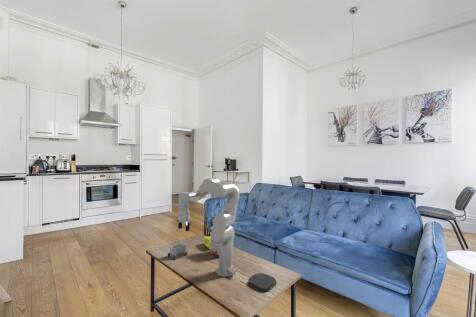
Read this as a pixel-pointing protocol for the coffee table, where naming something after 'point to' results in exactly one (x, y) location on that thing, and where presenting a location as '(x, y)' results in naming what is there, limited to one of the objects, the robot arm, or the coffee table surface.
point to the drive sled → (178, 255)
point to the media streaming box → (262, 282)
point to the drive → (177, 249)
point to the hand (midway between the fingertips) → (183, 229)
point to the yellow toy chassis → (207, 241)
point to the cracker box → (213, 245)
